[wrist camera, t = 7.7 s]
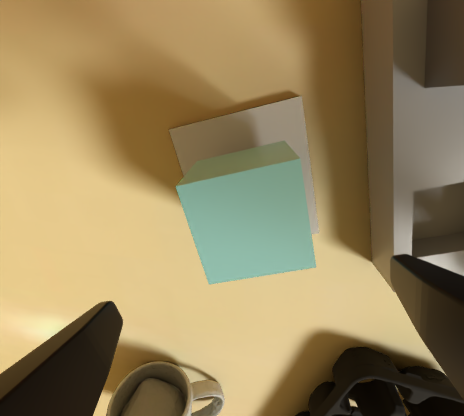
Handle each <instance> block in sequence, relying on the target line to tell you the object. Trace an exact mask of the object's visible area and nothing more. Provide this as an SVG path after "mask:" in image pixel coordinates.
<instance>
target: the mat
mask: <svg viewBox="0 0 464 416" xmlns="http://www.w3.org/2000/svg"><path fill="white" fill-rule="evenodd" d="M169 133H170V136H171V139H172V142H173V145H174V148H175V151H176V154H177V157H178V161H179V164H180V167H181V170H182V173H183V176H185V175H186V173H187V172H188V171H189V170H190V169H191V168H192V166H193V165H194V164H195V163H196V162H197V161H200V160H204V159H208V158H212V157H217V156H221V155H225V154H229V153H233V152H238V151H242V150H246V149H250V148H255V147H259V146H263V145H267V144H272V143H276V142H280V141H284V140H285V142H286V143H287V144H288V145H289V146H290V147H291V148H292V150H293V151H294V152H295V153H296V154H297V155H298V156H299V157H300V160H301V166H302V173H303V180H304V187H305V194H306V201H307V208H308V214H309V221H310V228H311V234H317V233H319V226H318V219H317V211H316V203H315V195H314V187H313V179H312V171H311V164H310V156H309V148H308V140H307V132H306V124H305V116H304V109H303V101H302V96H298V97H294V98H290V99H286V100H282V101H279V102H275V103H271V104H267V105H263V106H259V107H255V108H251V109H247V110H243V111H239V112H235V113H232V114H228V115H224V116H220V117H216V118H212V119H208V120H204V121H200V122H196V123H192V124H188V125H184V126H181V127H177V128H173V129H170V130H169Z"/></svg>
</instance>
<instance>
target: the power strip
mask: <svg viewBox="0 0 464 416" xmlns="http://www.w3.org/2000/svg"><path fill="white" fill-rule="evenodd" d="M361 15H362V38H363V62H364V85H365V109H366V132H367V156H368V179H369V203H370V226H371V250H372V263H373V265H374V266H375V267H376V269H377V270H378V271H379V273H380V274H381V275H382V277H383V278H384V279H385V280H386V282H387V283H388V284H389V286H390V287H391V288H392V290H393V291H394V292H395V290H394V288H393V286H392V284H391V281H390V258H391V257H392V256H393V255H400V254H409V255H411V256H414V257H417V258H419V259H422V260H424V261H427V262H429V263H432V264H434V265H437V266H440V267H442V268H445V269H447V270H450V271H452V272H455V273H457V274H460V275H463V276H464V0H361Z"/></svg>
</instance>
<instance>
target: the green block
mask: <svg viewBox="0 0 464 416" xmlns="http://www.w3.org/2000/svg"><path fill="white" fill-rule="evenodd" d="M175 187H176V190H177V193H178V195H179V198H180V201H181V204H182V207H183V210H184V213H185V216H186V219H187V222H188V225H189V228H190V230H191V233H192V236H193V239H194V242H195V245H196V248H197V251H198V254H199V257H200V260H201V263H202V265H203V268H204V271H205V274H206V277H207V280H208V283H209V284H215V283H221V282H228V281H234V280H240V279H246V278H253V277H259V276H265V275H271V274H278V273H284V272H290V271H296V270H303V269H309V268H315V267H316V262H315V255H314V249H313V242H312V235H311V228H310V221H309V214H308V208H307V201H306V194H305V187H304V180H303V173H302V166H301V160H300V157H299V156H298V155H297V154H296V153H295V152H294V151H293V150H292V148H291V147H290V146H289V145H288V144H287V143H286V142H285V140H284V141H280V142H276V143H272V144H267V145H263V146H259V147H255V148H250V149H246V150H242V151H238V152H233V153H229V154H225V155H221V156H217V157H212V158H208V159H204V160H200V161H197V162H196V163H195V164H194V165H193V166H192V168H191V169H190V170H189V171H188V172H187V173H186V175H185V176H184V177H183V178H182V179H181V180H180V182H179V183H178V184H177V185H176V186H175Z"/></svg>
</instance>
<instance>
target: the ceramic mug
mask: <svg viewBox="0 0 464 416" xmlns="http://www.w3.org/2000/svg"><path fill="white" fill-rule="evenodd" d="M208 396H215V397H214V399H213V401H212V403H210V404H209V405H208V406H205V407H204V408H202V409H201V410H199V411H196V412H194V413H192V414H191V409H192V401H193V400H196V399H198V398H204V397H208ZM224 400H225V399H224V395H223V392H222V389H221V386H220V384H219V383H218V382H216V381H213V380H203V381H198V382H194V383H190V382H189V379H188V377H187V375H186V374H185V373H184V371H183V370H182V369H181V368H179V367H178V366H176V365H174V364H172V363H169V362H164V361H154V362H150V363H146V364H144V365H142V366H140V367H138V368H136V369H134V370H133V371H132V372H130V373H129V374H128V375H127V376H126V377H125V378H124V379H123V380H122V381H121V383H120V384H119V385H118V387H117V388H116V390H115V391H114V393H113V395H112V397H111V400H110V402H109V405H108V409H107V414H106V416H217V415H218V414H219V413H220V411H221V410H222V408H223V406H224Z"/></svg>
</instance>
